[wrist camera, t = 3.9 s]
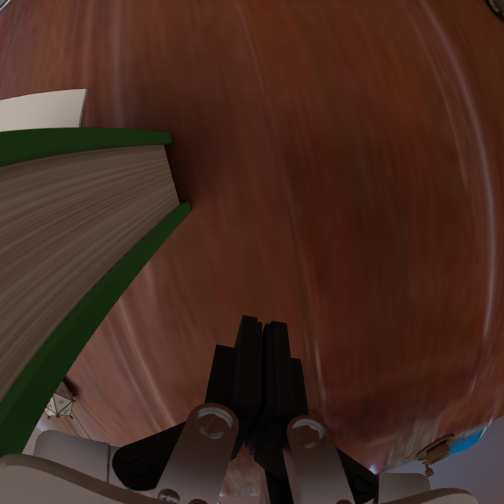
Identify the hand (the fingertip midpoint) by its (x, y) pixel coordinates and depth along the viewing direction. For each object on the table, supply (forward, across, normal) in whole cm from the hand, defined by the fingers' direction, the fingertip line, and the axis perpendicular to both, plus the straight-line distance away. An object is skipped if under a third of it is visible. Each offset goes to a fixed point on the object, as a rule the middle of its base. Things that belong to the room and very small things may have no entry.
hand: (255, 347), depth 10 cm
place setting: (+16, -60, +49) cm, 79 cm away
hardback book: (+16, +16, 0) cm, 22 cm away
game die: (+16, +28, +36) cm, 48 cm away
